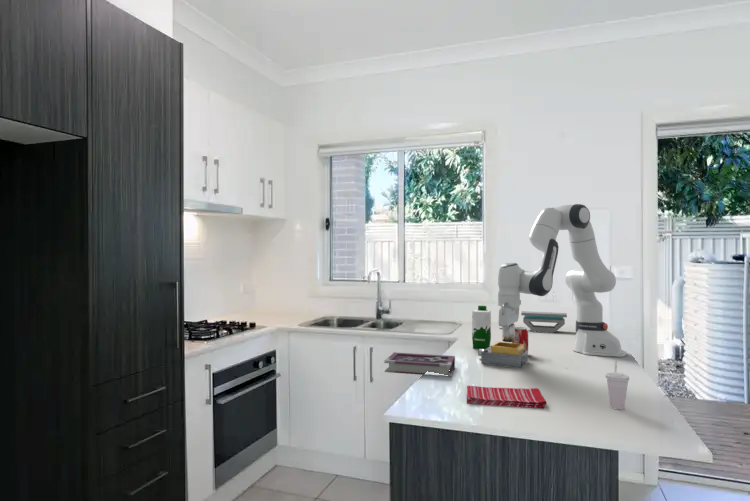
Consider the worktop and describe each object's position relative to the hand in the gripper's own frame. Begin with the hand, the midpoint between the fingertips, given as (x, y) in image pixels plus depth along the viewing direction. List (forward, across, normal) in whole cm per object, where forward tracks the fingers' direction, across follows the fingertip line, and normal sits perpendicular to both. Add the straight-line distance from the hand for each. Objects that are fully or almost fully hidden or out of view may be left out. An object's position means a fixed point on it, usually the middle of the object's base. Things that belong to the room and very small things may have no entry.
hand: (508, 334), depth 203 cm
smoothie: (+12, -43, -43) cm, 62 cm away
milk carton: (+12, +27, +20) cm, 35 cm away
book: (+13, -29, +28) cm, 42 cm away
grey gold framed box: (+12, 0, +3) cm, 12 cm away
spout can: (+3, 0, 0) cm, 3 cm away
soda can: (+12, +20, 0) cm, 23 cm away
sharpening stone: (+12, +93, +2) cm, 94 cm away
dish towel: (+13, -50, -11) cm, 53 cm away
